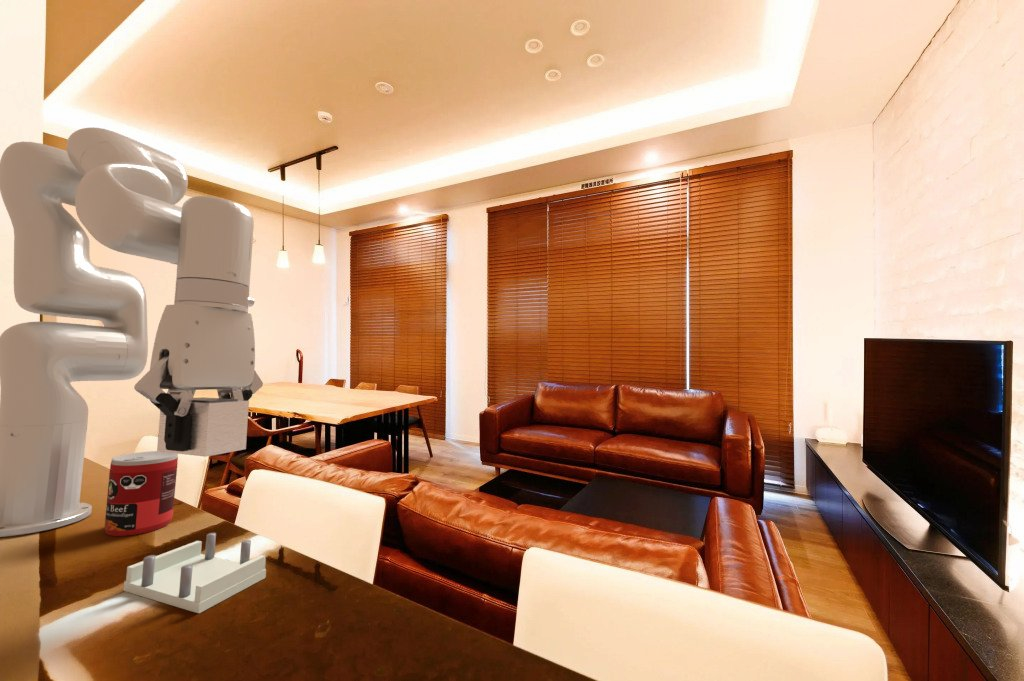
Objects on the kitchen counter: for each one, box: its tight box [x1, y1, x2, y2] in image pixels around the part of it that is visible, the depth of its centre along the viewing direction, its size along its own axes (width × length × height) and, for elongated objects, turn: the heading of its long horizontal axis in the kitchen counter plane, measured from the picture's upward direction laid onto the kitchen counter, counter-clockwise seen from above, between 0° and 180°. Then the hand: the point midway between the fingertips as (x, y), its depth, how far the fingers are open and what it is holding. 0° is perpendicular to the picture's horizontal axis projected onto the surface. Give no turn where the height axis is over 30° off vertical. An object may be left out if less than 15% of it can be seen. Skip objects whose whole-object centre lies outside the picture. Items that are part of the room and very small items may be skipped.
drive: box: [156, 397, 250, 458], centre depth 51 cm, size 8×5×6 cm, turn 72°
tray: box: [123, 532, 267, 614], centre depth 49 cm, size 12×8×4 cm, turn 72°
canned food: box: [104, 450, 179, 537], centre depth 65 cm, size 8×8×11 cm
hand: (202, 444), depth 51 cm, fingers closed on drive, 5 cm apart
